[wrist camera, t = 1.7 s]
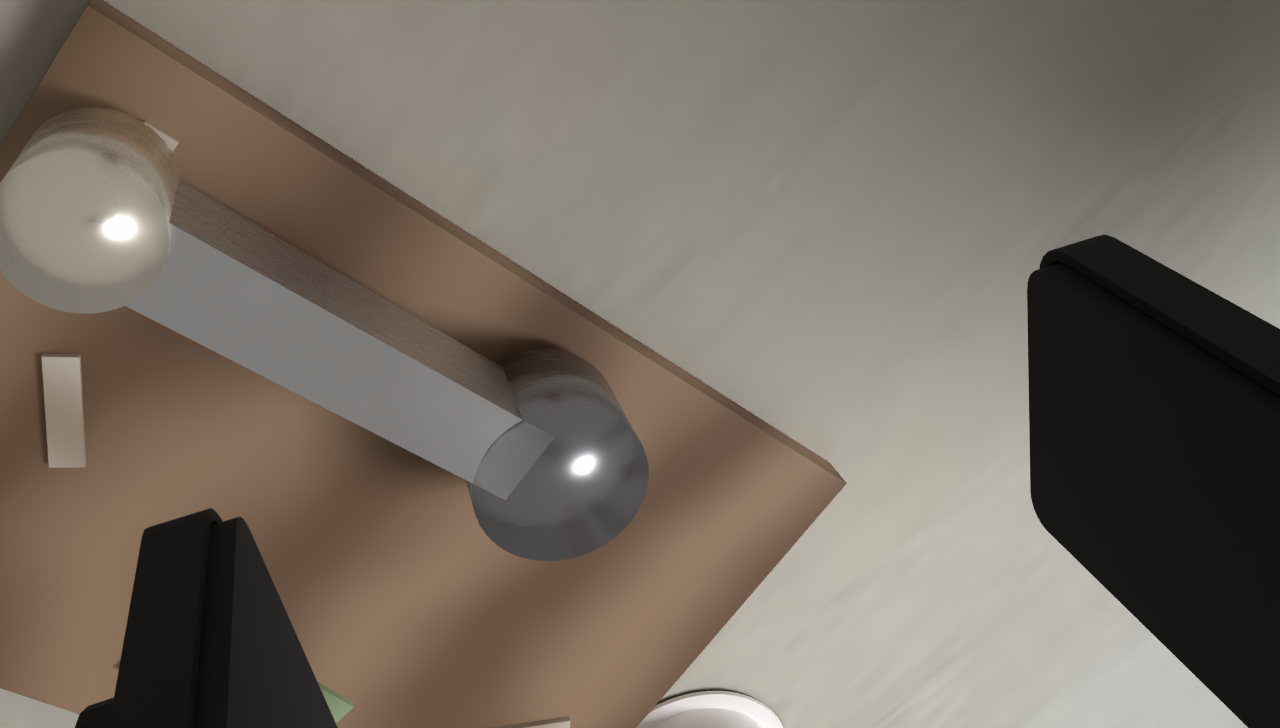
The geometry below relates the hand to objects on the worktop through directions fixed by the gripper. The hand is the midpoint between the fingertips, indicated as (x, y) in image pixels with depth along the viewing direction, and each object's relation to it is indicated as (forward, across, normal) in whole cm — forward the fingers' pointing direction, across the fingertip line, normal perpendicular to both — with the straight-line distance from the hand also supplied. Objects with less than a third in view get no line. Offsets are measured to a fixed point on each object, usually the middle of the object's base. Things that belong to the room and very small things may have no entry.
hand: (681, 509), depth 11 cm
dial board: (+20, +6, +12) cm, 24 cm away
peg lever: (+18, +4, +5) cm, 19 cm away
